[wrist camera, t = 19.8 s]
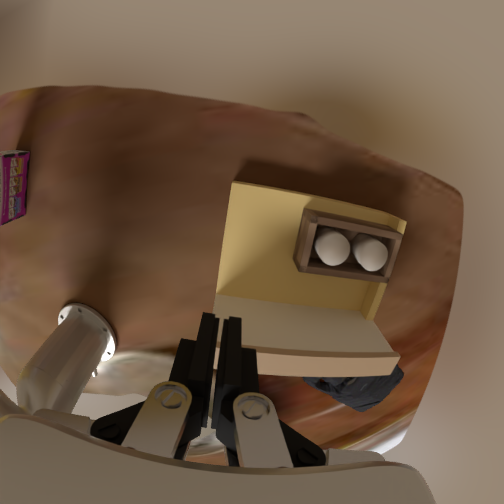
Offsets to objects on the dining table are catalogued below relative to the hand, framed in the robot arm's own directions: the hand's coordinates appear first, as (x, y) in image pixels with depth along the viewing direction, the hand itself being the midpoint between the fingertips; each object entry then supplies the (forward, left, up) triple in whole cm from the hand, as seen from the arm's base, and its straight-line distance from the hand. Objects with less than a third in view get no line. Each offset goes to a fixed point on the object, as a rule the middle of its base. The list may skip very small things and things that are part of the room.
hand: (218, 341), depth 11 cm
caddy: (0, -14, -22) cm, 26 cm away
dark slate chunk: (-27, -28, -26) cm, 46 cm away
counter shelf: (-4, -10, -25) cm, 27 cm away
